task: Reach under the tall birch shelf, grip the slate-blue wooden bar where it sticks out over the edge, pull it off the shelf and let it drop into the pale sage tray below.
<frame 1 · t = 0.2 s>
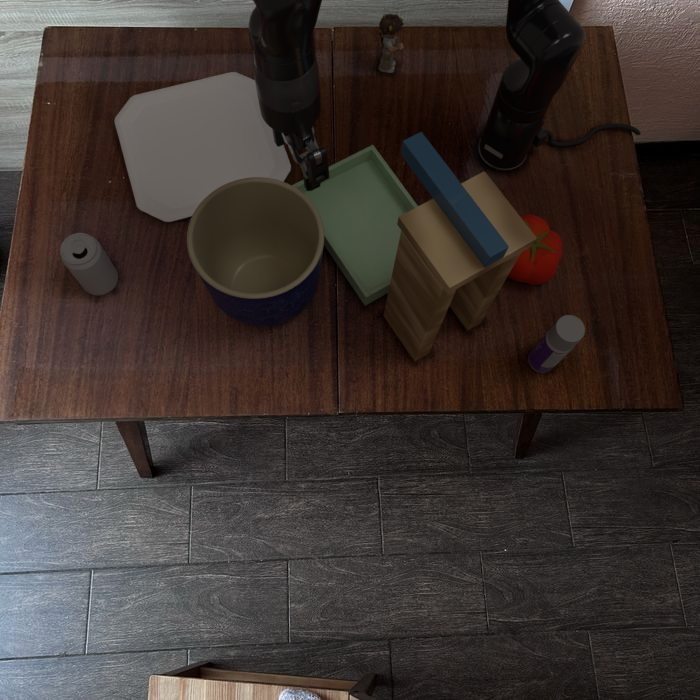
hand: (297, 164, 97), 29 cm above the table, tool pointing down, fingers open, 8 cm apart
beverage can: (101, 281, 122), on the table
planter: (265, 288, 122), on the table
shelf: (432, 319, 121), on the table
plate: (203, 150, 131), on the table
tomato: (520, 262, 126), on the table
container: (541, 360, 120), on the table
tray: (368, 227, 127), on the table
bar: (450, 204, 92), point 32 cm above the table, touching shelf
toy: (388, 67, 140), on the table
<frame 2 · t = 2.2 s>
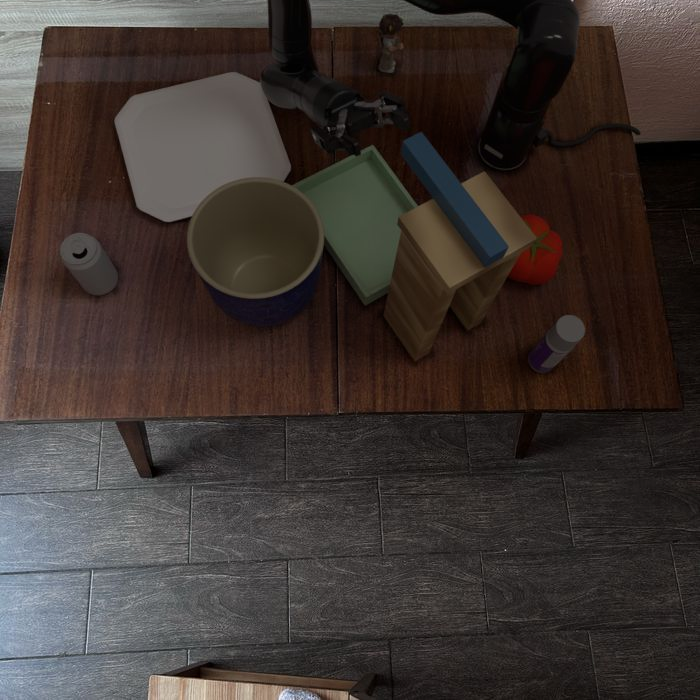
hand: (383, 137, 101), 28 cm above the table, tool pointing upward, fingers open, 8 cm apart
nothing on the table moved.
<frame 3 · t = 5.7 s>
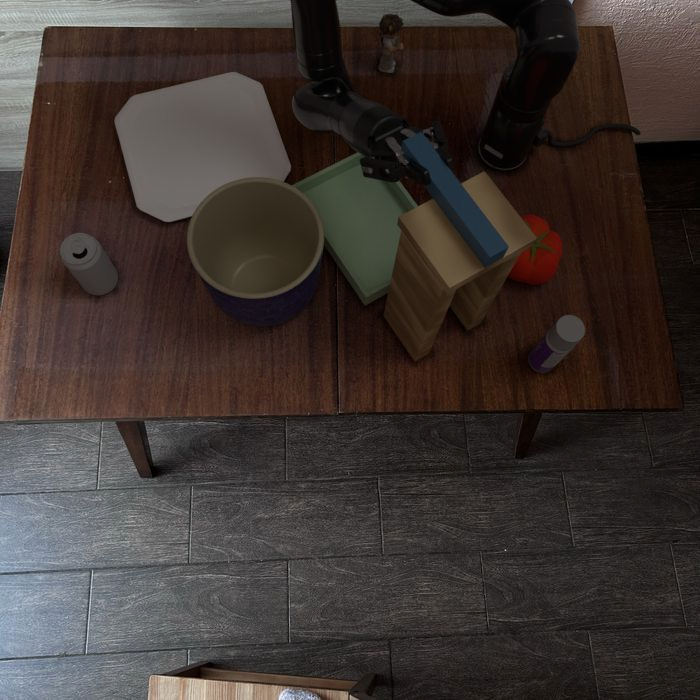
hand: (439, 172, 90), 35 cm above the table, tool pointing upward, fingers closed on bar, 3 cm apart
bar: (450, 204, 92), point 32 cm above the table, touching gripper, shelf
everything else where it was.
when the fingers open (22 cm above the table, at t = 13.1 s): bar drops 19 cm, resting on tray.
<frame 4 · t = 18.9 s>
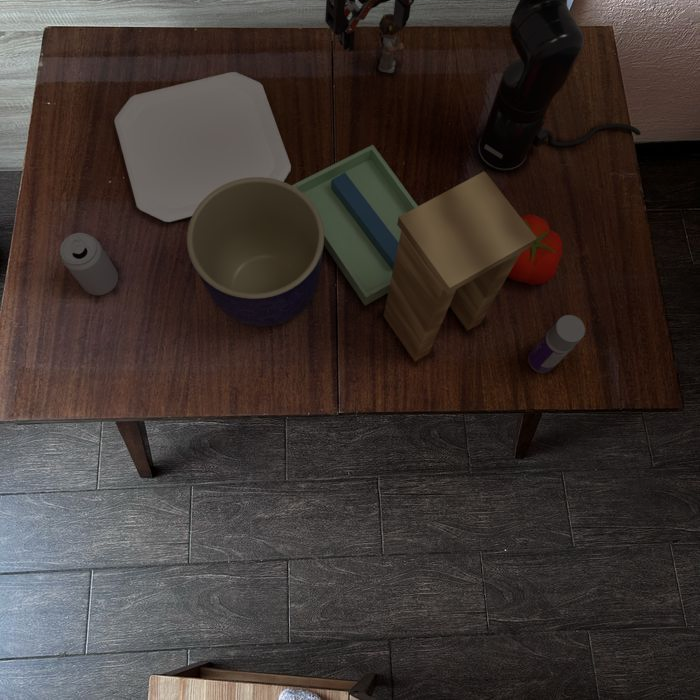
hand: (373, 35, 96), 36 cm above the table, tool pointing down, fingers open, 8 cm apart
bar: (368, 225, 126), point 1 cm above the table, touching tray
everything else where it was.
at the end: bar inside the target area in the tray (0.2 cm from its centre), point 0.6 cm above the tray's base; the gripper is holding nothing; bar moved 35.8 cm from its start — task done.
